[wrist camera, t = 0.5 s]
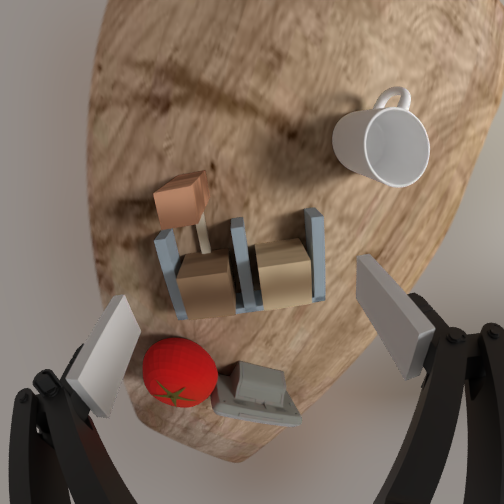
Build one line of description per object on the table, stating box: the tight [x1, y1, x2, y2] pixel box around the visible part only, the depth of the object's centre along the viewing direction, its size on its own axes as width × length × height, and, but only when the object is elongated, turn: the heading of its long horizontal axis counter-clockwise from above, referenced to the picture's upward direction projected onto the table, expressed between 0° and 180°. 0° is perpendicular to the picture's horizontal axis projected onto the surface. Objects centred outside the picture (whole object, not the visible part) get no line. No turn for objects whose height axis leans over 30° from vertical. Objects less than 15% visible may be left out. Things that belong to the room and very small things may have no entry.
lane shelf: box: [154, 208, 325, 320], centre depth 36 cm, size 12×20×4 cm, turn 98°
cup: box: [332, 87, 430, 187], centre depth 27 cm, size 8×12×10 cm
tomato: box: [143, 338, 218, 407], centre depth 40 cm, size 11×12×10 cm
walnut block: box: [153, 170, 236, 320], centre depth 32 cm, size 17×6×11 cm, turn 8°
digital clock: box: [211, 361, 302, 427], centre depth 44 cm, size 16×9×11 cm, turn 55°
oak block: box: [255, 238, 312, 311], centre depth 36 cm, size 6×6×7 cm
